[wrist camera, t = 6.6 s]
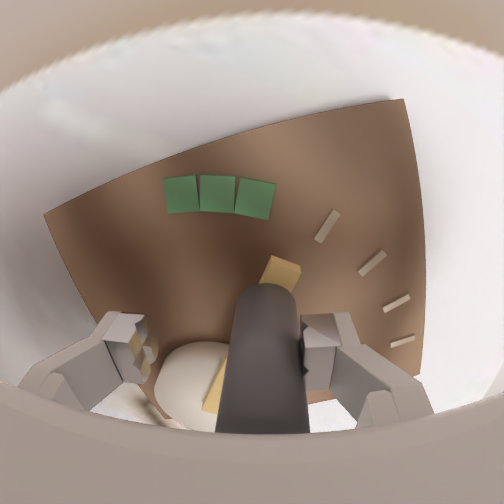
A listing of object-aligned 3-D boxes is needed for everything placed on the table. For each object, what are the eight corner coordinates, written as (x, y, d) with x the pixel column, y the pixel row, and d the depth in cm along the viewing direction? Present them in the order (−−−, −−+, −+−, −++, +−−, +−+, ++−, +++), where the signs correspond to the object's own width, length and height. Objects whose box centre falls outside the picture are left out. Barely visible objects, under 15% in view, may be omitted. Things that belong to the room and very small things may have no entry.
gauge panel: (169, 404, 21) (164, 420, 20) (58, 206, 15) (41, 215, 13) (412, 359, 18) (420, 376, 17) (390, 100, 12) (405, 98, 10)
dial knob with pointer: (250, 423, 19) (241, 528, 11) (155, 394, 18) (119, 497, 11) (351, 269, 14) (417, 415, 6) (208, 214, 13) (131, 345, 5)
